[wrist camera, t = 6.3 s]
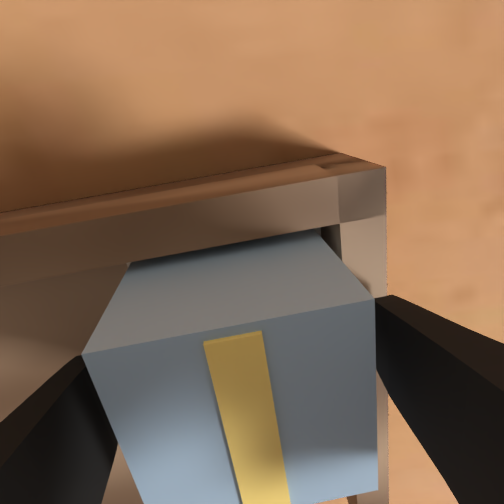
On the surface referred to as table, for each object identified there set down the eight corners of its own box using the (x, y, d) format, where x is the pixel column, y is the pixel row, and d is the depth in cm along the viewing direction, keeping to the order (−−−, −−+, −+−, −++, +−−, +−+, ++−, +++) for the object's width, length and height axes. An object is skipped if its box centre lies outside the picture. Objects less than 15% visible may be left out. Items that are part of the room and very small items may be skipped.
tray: (357, 453, 17) (389, 526, 14) (62, 515, 16) (28, 606, 13) (340, 152, 11) (385, 167, 8) (-103, 230, 11) (-222, 276, 8)
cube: (317, 350, 12) (379, 494, 8) (178, 377, 12) (157, 541, 8) (303, 217, 11) (377, 301, 6) (139, 246, 10) (79, 357, 6)
